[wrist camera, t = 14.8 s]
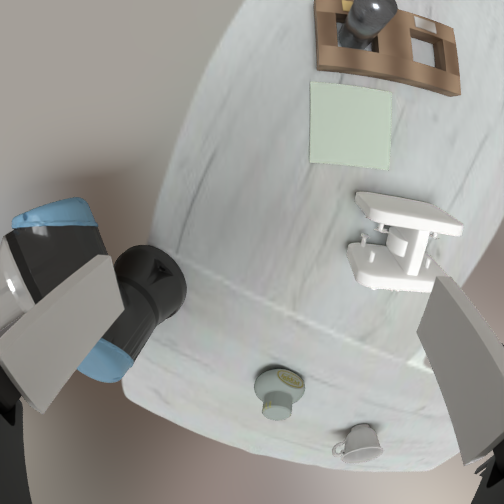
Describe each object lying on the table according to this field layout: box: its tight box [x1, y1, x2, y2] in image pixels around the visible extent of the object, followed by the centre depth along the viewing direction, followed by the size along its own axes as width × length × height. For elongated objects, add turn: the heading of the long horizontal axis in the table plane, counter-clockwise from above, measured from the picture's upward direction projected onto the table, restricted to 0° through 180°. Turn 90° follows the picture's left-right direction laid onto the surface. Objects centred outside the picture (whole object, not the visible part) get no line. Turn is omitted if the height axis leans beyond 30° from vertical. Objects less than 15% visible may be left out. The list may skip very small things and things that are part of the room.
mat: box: [309, 82, 392, 170], centre depth 34 cm, size 12×12×1 cm
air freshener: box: [254, 369, 305, 420], centre depth 52 cm, size 11×8×10 cm
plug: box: [338, 0, 398, 50], centre depth 22 cm, size 4×4×14 cm
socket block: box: [314, 0, 461, 97], centre depth 26 cm, size 22×12×4 cm, turn 90°
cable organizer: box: [346, 192, 464, 293], centre depth 34 cm, size 15×11×12 cm
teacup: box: [332, 424, 384, 463], centre depth 58 cm, size 12×15×10 cm
